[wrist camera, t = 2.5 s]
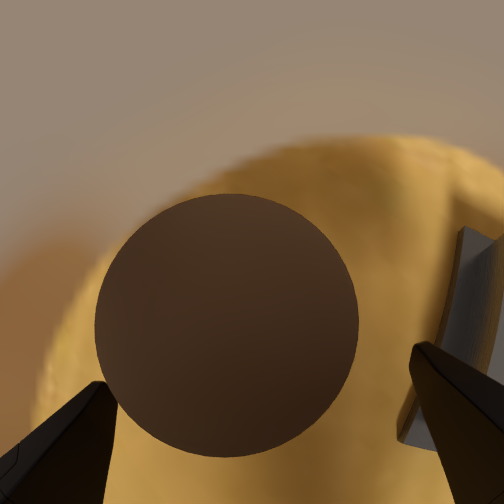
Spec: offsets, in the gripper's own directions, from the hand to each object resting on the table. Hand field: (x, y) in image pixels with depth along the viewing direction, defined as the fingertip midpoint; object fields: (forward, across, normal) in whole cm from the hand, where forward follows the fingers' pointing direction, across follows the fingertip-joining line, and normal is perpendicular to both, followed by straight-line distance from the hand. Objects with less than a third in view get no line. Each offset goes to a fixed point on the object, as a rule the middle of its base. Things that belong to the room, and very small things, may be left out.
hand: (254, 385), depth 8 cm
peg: (+7, 0, +5) cm, 9 cm away
